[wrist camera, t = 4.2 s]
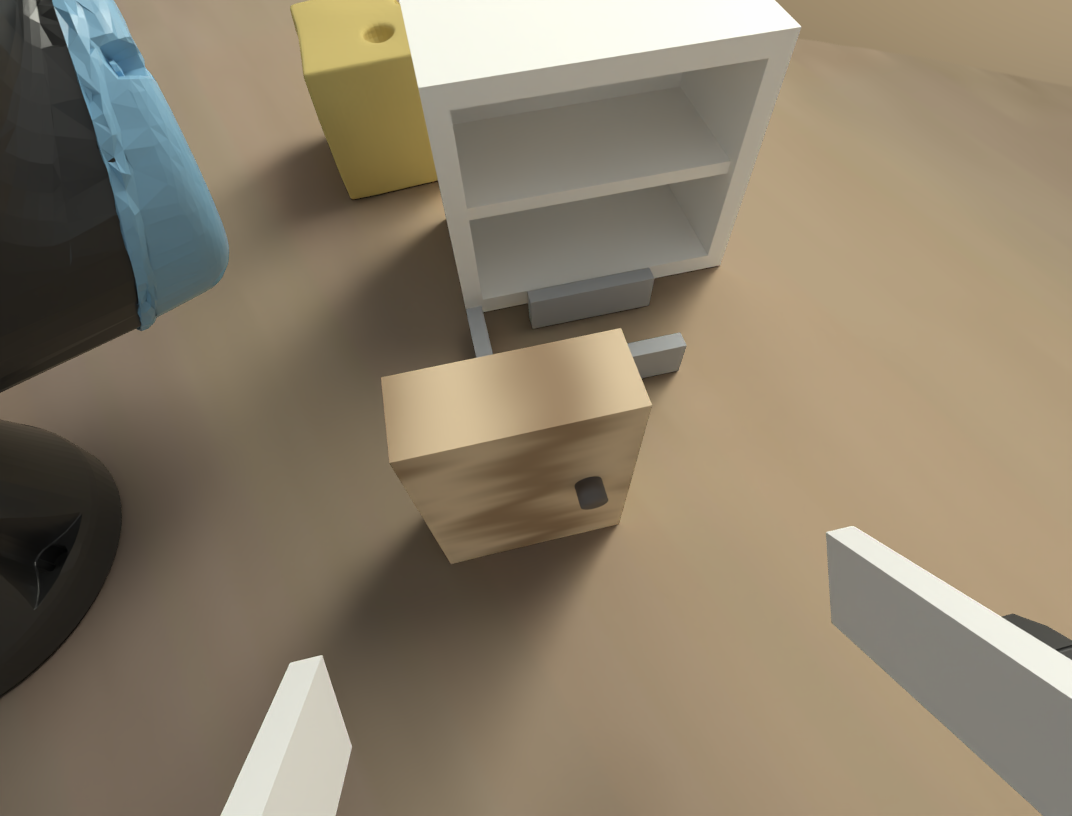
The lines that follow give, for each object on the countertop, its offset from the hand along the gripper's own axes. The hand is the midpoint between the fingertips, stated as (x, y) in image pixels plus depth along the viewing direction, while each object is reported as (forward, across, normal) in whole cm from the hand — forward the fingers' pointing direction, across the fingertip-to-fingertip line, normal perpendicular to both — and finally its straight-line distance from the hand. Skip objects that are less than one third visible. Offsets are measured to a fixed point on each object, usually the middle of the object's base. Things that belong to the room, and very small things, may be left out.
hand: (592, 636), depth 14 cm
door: (+15, 0, -3) cm, 16 cm away
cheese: (+39, -4, +20) cm, 44 cm away
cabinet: (+26, +8, +8) cm, 29 cm away
